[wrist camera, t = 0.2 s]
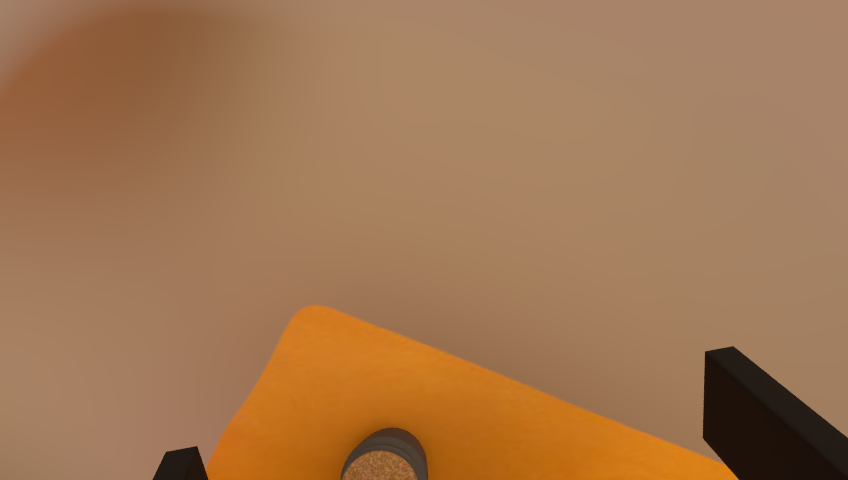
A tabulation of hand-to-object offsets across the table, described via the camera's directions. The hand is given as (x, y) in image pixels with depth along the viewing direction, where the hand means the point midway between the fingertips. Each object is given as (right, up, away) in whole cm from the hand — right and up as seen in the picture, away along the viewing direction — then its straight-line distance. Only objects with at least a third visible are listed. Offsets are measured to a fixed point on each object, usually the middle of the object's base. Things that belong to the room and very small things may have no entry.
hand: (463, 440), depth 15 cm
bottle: (-4, -14, +33) cm, 36 cm away
